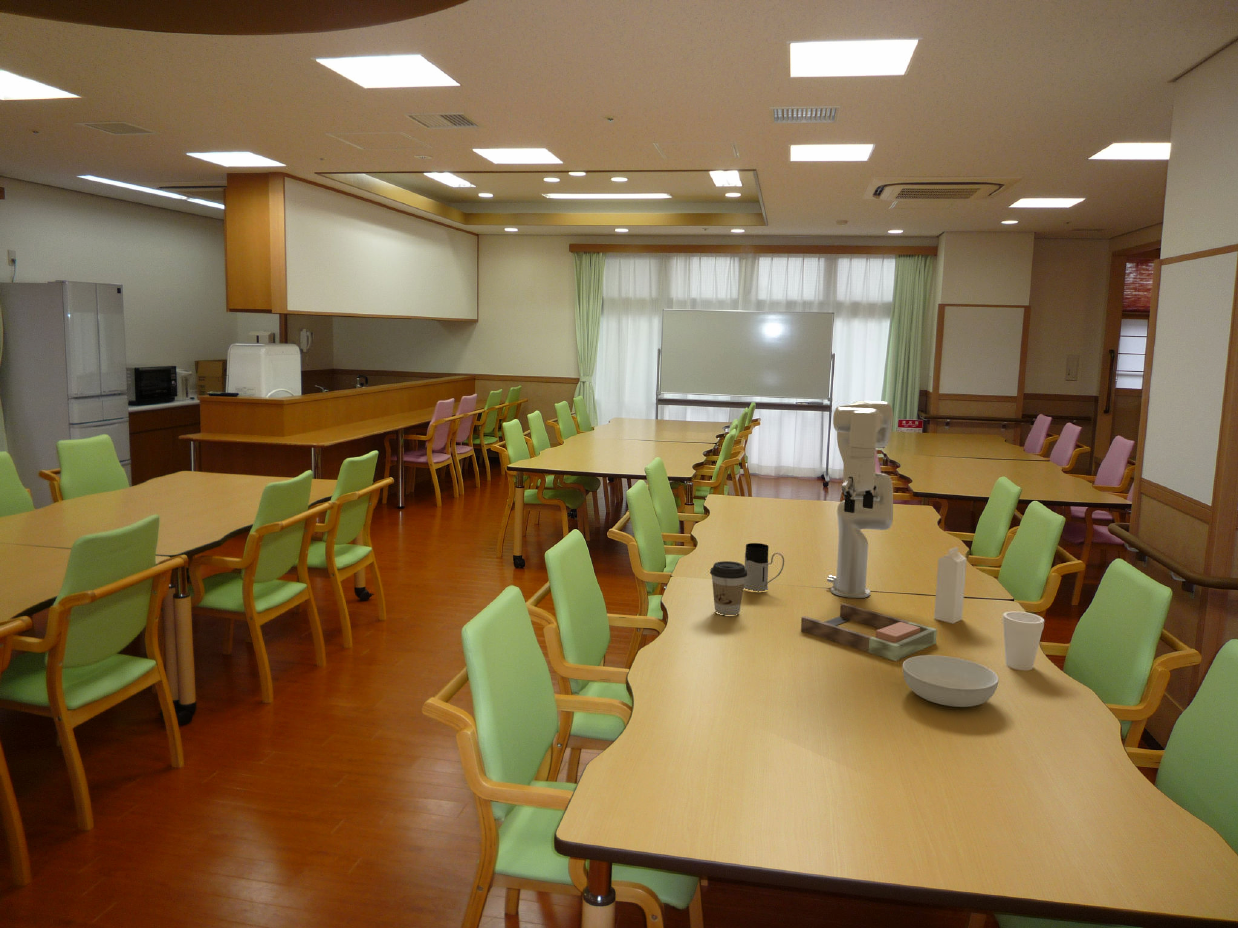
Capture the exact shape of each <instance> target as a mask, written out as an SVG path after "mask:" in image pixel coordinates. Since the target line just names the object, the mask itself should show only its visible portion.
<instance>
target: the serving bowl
mask: <svg viewBox="0 0 1238 928" xmlns="http://www.w3.org/2000/svg"><path fill="white" fill-rule="evenodd" d="M902 674H903V678H904V681H905V683H906V684H907V686H908V688H909V689H910V690H911V691H912V692H914V693H915V694H916V695H917V696H919V697H920V698H923V699H924V700H926V701H929V702H931V703H933V704H934V703H935V704H938V705H943V706H946V707H947V706H948V707H956V708H957V707H958V708H968V707H975V706H979V705H982V704H984V703H986V702H987V701H988V700H990V699H991V698H992V697H993V696H994V694H995V693H996V691H997V688H998V686H999V682H1000V681H999V680H1000V679H999V676H998V674H997V673H996V672H995V671H994V670H992V669H990V668H989V667H987V666H985V665H983V664H980V663H977V662H975V661H971V660H968V659H965V658H964V659H963V658H959V657H955V656H946V655H935V654H930V655H929V654H928V655H927V654H926V655H925V654H924V655H917V656H912V657H909V658H907V659H906V660H904V661H903V662H902Z"/></svg>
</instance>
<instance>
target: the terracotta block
mask: <svg viewBox="0 0 1238 928" xmlns="http://www.w3.org/2000/svg"><path fill="white" fill-rule="evenodd" d="M875 631H876V632H875V638H878V639H881V640H884V641H888V642H891V643H894V644H895V643H897V642H900V641H902V640H904V639H907V638H909V637H911V636H914V635H916V634H919V633H920V627H917V626H913V625H910V624H906V623H903V622H899V623H896V624H893V625H890V626H888V627H885V628H882V629H879V628H878V629H877V630H875Z"/></svg>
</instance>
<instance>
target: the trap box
mask: <svg viewBox="0 0 1238 928" xmlns="http://www.w3.org/2000/svg"><path fill="white" fill-rule="evenodd" d="M839 612H840V613H839V616H836V617H834V618H831V619H828V620H825V621H822V620H819V619H817V618H813V617H809V616H806V615H803V616H801V622H800V631H801V632H804V633H808V634H810V635H814V636H815V637H819V638H822V639H825V640H829V641H832V642H836V643H838V644H841V645H844V646H847V647H851V648H853V649H857V650H859V651H864V652H866V653H869V654H873V655H875V656H878V657H881V658H884V659H888V660H891V661H894V662H897V661H899V660H901V659H902V660H903V659H904V658H906V657H908V656H911V655H913V654H916V653H917V652H919V651H921V650H924V649H926V648H928V647H931V646H933V645H935V644H937V635H938V629H937V628H934V627H929V626H927V625H923V624H919V623H915V622H912V621H909V620H906V619H902V618H898V617H894V616H891V615H887V614H883V613H882V612H881V613H880V612H876V611H873V610H869V609H867V608H866V609H865V608H862V607H859V606H855V605H852V604H847V603H845V602H843V603H840V609H839ZM851 621H852V622H856V623H858V624H859V623H860V624H863V625H867V626H870V627H873V628H876V629H878V630H879V629H882V628H885V627H888V626H890V625H893V624H896V623H899V622H903V623H906V624H910V625H913V626H917V627H920V633H919V634H916V635H914V636H911V637H909V638H907V639H904V640H902V641H900V642H897V643H895V644H894V643H891V642H888V641H884V640H881V639H878V638H876V636H875V637H874V636H871V635H869V634H868V635H867V634H865V633H861V632H858V631H854V630H851V629H849V628H848V629H847V628H845V627H841V626H839V625H842V624H845V623H848V622H851Z"/></svg>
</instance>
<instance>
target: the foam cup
mask: <svg viewBox="0 0 1238 928" xmlns="http://www.w3.org/2000/svg"><path fill="white" fill-rule="evenodd" d="M1001 624H1002V625H1003V641H1004V642H1003V643H1004V658H1005V660H1004V661H1005V666H1007V667H1009V668H1011V669H1014V670H1019V671H1031V670H1032V669H1033V668H1034V665H1035V661H1036V656H1037V653H1038V648H1039V645H1040V640H1041V636H1042V633H1043V630H1044V628H1045V627H1044V626H1045V619H1044V618H1043V617H1042V616H1040V615H1038V614H1036V613H1035V614H1034V613H1030V612H1025V611H1019V610H1018V611H1016V610H1015V611H1006V612H1004V613H1003V614H1002V623H1001Z"/></svg>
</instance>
